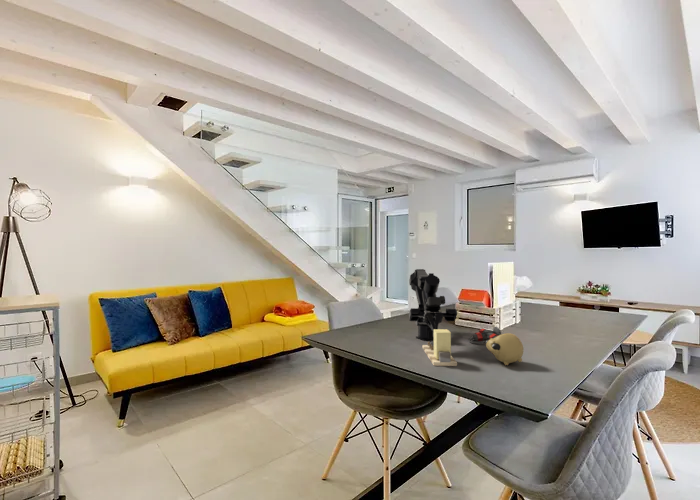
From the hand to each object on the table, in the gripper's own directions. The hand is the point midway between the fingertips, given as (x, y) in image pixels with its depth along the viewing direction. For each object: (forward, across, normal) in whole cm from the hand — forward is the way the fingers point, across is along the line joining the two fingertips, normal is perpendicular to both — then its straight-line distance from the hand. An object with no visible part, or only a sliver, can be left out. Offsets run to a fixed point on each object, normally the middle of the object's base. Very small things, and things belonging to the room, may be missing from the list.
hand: (435, 333), depth 133 cm
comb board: (+8, 0, +2) cm, 9 cm away
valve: (-3, +25, +15) cm, 30 cm away
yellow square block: (+12, 0, -3) cm, 12 cm away
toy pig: (+14, +22, -3) cm, 26 cm away
